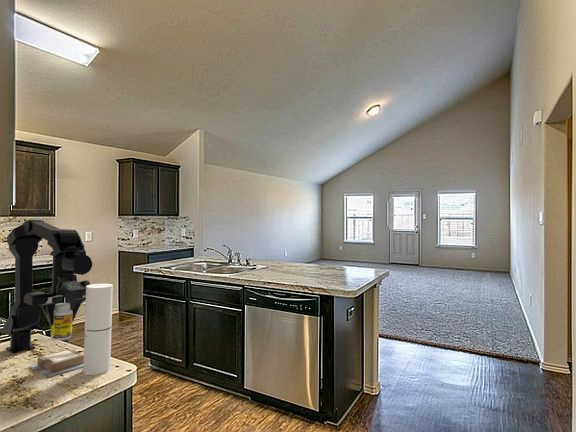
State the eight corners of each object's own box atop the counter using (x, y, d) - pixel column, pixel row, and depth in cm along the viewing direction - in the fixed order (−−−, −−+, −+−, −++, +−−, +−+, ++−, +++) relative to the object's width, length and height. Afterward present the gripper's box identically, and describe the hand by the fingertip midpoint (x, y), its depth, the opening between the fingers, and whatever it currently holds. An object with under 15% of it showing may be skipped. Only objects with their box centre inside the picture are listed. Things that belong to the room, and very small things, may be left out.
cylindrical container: (97, 376, 108) (100, 288, 109) (77, 372, 110) (80, 286, 111) (115, 367, 115) (118, 284, 115) (96, 364, 117) (99, 282, 117)
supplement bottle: (50, 342, 111) (51, 307, 111) (50, 336, 116) (51, 303, 116) (72, 339, 114) (73, 305, 114) (71, 334, 119) (72, 301, 119)
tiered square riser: (29, 367, 113) (29, 357, 113) (70, 356, 123) (71, 346, 123) (48, 378, 106) (49, 366, 106) (91, 364, 116) (91, 354, 116)
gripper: (42, 277, 103) (40, 335, 103) (107, 271, 118) (106, 321, 118) (23, 273, 109) (22, 328, 109) (88, 267, 124) (87, 315, 124)
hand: (61, 323), depth 115 cm, fingers closed on supplement bottle, 5 cm apart
